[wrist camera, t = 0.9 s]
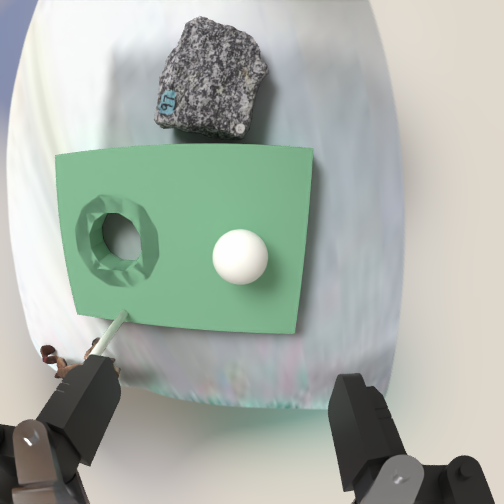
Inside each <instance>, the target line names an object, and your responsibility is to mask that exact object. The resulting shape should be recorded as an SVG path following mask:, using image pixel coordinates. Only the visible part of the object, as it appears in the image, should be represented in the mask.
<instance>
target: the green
mask: <svg viewBox="0 0 504 504" xmlns="http://www.w3.org/2000/svg"><path fill="white" fill-rule="evenodd" d="M312 162H313V148H303V147H290V146H275V145H255V144H165V145H146V146H131V147H119V148H108V149H99V150H90V151H82V152H74V153H67V154H60V155H55V165H56V187H57V200H58V211H59V220H60V228H61V236H62V243H63V249H64V255H65V261H66V266H67V271H68V276H69V281H70V286H71V290H72V295H73V299H74V303H75V307H76V311H77V314H79V315H85V316H91V317H97V318H104V319H111V320H114V319H115V318H116V317H117V315H118V314H119V313H120V311H121V310H122V309H125V310H126V311H127V312H128V316H127V317H126V319H125V320H124V321H125V322H133V323H141V324H149V325H158V326H167V327H178V328H189V329H201V330H214V331H230V332H250V333H279V334H295V328H296V321H297V313H298V306H299V298H300V290H301V282H302V273H303V265H304V255H305V246H306V236H307V225H308V214H309V203H310V190H311V177H312ZM108 213H119V214H121V215H123V216H124V217H126V218H127V219H129V220H131V221H132V222H133V224H134V226H135V228H136V229H137V231H138V233H139V234H140V238H141V250H142V252H141V254H140V256H139V258H138V259H137V260H135V261H132V260H121V259H120V258H118V257H117V256H115V255H114V254H112V253H111V252H110V251H109V249H108V247H107V246H106V244H105V242H104V241H103V233H102V225H103V222H104V220H105V218H106V215H107V214H108ZM236 229H245V230H249V231H252V232H254V233H255V234H257V235H258V236H259V237H260V238H261V239H262V240H263V242H264V243H265V245H266V248H267V251H268V263H267V266H266V269H265V271H264V272H263V274H262V275H261V276H260V277H259V278H258V279H257V280H255V281H253V282H251V283H249V284H244V285H237V284H232V283H229V282H227V281H226V280H224V279H223V278H222V277H221V276H220V275H219V274H218V273H217V271H216V269H215V267H214V264H213V258H212V256H213V250H214V247H215V244H216V243H217V241H218V240H219V238H220V237H221V236H223V235H224V234H225V233H227V232H229V231H232V230H236Z"/></svg>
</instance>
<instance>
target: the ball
mask: <svg viewBox="0 0 504 504" xmlns="http://www.w3.org/2000/svg"><path fill="white" fill-rule="evenodd" d="M212 258H213V264H214V267H215V269H216V271H217V273H218V274H219V275H220V276H221V277H222V278H223V279H224V280H226V281H227V282H229V283H232V284H237V285H244V284H249V283H251V282H253V281H255V280H257V279H258V278H259V277H260V276H261V275H262V274H263V272H264V271H265V269H266V266H267V263H268V251H267V248H266V245H265V243H264V242H263V240H262V239H261V238H260V237H259V236H258V235H257V234H255V233H254V232H252V231H249V230H245V229H236V230H232V231H229V232H227V233H225V234H224V235H223V236H221V237H220V238H219V240H218V241H217V243H216V244H215V247H214V250H213V256H212Z"/></svg>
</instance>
